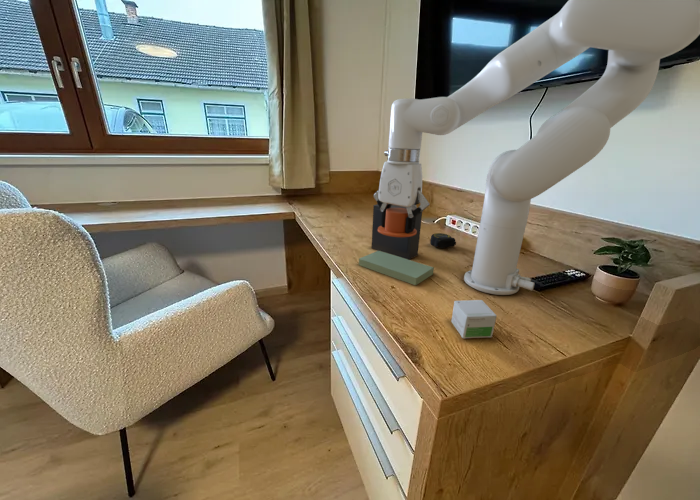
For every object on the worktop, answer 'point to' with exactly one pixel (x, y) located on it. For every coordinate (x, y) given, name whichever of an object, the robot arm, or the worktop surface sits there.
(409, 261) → the stand
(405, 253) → the dark upright block
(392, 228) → the hat
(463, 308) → the small box
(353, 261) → the worktop surface
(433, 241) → the tape measure
